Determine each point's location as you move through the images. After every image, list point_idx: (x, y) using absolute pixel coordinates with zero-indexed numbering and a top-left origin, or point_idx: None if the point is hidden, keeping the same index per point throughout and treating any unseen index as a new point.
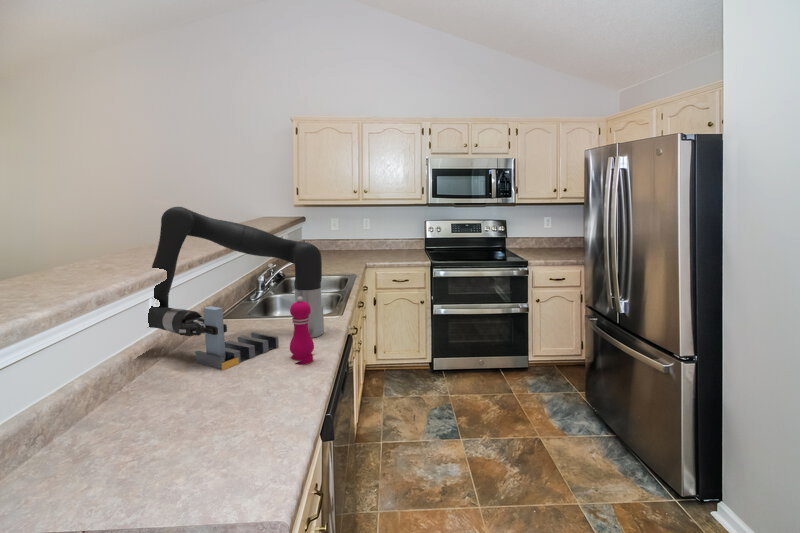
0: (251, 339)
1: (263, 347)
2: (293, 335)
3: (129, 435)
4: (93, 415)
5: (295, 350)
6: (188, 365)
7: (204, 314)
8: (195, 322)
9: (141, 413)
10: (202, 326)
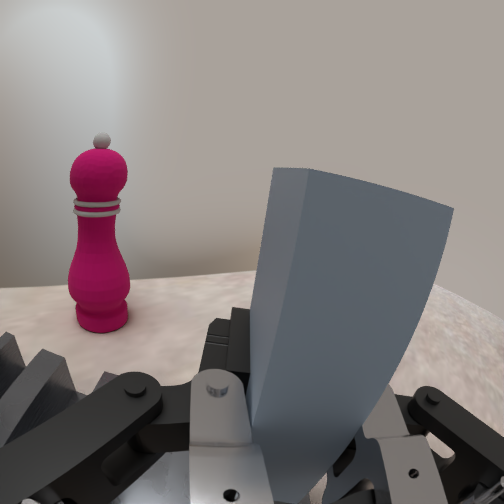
0: (21, 405)
1: (68, 373)
2: (107, 254)
3: (474, 355)
4: None
5: (128, 285)
6: None
7: (413, 307)
8: (442, 502)
9: (473, 392)
10: (391, 402)
